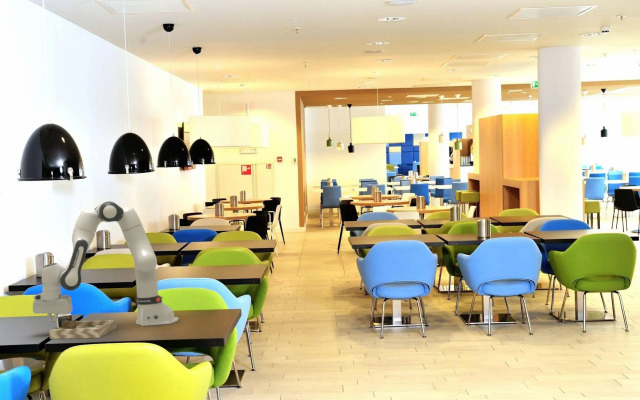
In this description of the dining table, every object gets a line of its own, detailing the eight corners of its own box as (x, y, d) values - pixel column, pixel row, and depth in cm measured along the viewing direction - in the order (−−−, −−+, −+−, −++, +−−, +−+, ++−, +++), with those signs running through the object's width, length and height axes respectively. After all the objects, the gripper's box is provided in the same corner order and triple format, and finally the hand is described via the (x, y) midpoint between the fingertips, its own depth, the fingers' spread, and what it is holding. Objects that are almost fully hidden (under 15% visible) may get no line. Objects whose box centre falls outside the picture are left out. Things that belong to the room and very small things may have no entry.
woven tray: (115, 328, 379) (115, 320, 379) (99, 337, 359) (98, 328, 359) (69, 330, 382) (68, 321, 382) (49, 339, 362) (49, 330, 362)
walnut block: (76, 328, 374) (75, 320, 374) (71, 330, 369) (71, 322, 369) (67, 328, 374) (66, 320, 374) (62, 330, 369) (61, 322, 369)
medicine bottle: (58, 329, 385) (57, 307, 385) (56, 327, 392) (55, 305, 391) (72, 327, 388) (71, 305, 388) (70, 325, 395) (69, 303, 394)
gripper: (73, 293, 374) (75, 320, 374) (36, 294, 376) (38, 320, 377) (68, 295, 367) (69, 322, 368) (30, 296, 370) (31, 323, 371)
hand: (53, 321), depth 372 cm, fingers closed
